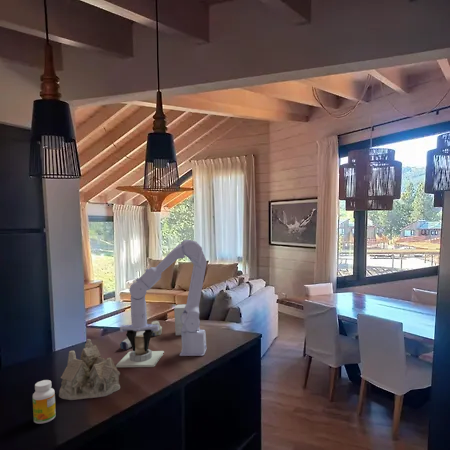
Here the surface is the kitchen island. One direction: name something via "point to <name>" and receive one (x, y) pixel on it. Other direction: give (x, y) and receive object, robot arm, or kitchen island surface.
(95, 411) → the kitchen island surface
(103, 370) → the ceramic cottage
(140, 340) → the maple peg
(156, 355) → the collar plate
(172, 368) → the kitchen island surface
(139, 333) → the white handheld device
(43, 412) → the supplement bottle
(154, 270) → the robot arm
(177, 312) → the supplement box
